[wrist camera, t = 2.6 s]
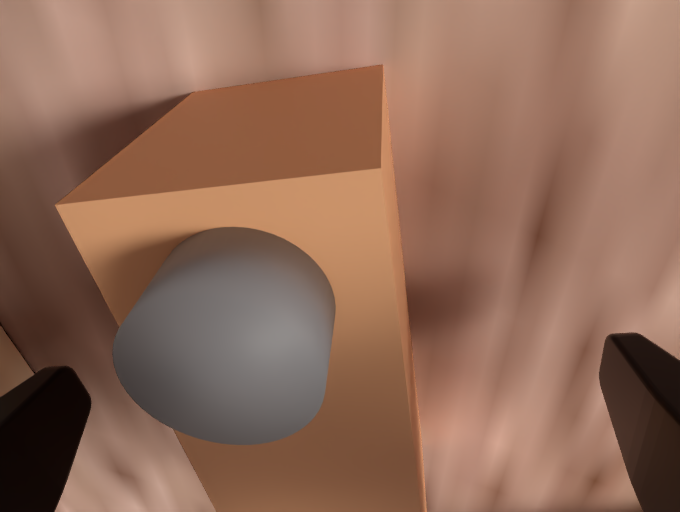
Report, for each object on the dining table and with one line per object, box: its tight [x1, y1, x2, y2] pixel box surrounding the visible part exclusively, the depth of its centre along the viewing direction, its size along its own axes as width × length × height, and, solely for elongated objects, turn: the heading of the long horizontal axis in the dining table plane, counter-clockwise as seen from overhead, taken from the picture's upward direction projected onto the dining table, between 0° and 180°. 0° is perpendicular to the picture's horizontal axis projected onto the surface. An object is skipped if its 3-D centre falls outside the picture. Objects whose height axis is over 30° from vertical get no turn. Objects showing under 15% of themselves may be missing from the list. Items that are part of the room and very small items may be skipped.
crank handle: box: [55, 65, 427, 512], centre depth 8 cm, size 3×9×5 cm, turn 9°
